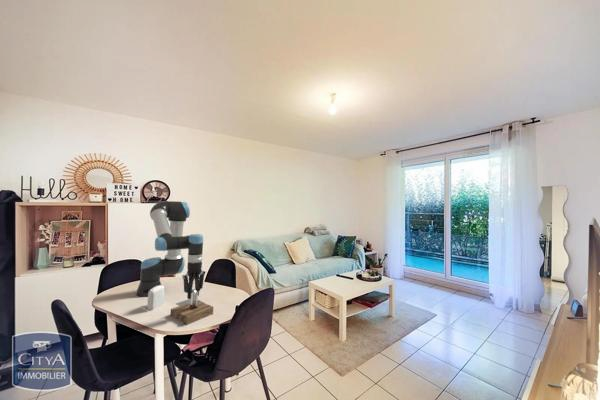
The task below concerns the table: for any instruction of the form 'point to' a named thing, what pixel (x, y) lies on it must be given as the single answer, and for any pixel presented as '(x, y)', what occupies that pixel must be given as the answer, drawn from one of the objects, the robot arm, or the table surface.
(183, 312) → the socket block
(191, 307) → the pin
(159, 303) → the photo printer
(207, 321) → the table surface
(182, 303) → the mat
